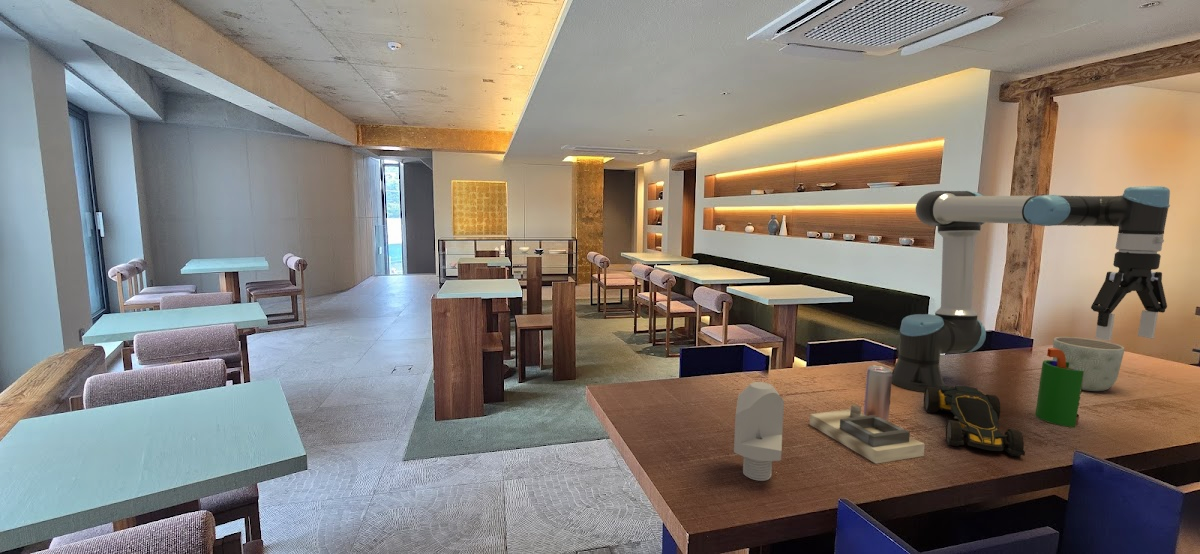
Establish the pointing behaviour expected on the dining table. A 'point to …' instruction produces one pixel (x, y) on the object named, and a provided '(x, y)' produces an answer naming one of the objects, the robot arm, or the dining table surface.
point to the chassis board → (868, 435)
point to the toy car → (973, 419)
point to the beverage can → (878, 391)
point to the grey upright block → (759, 429)
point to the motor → (1059, 391)
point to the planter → (1092, 360)
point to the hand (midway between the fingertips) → (1124, 338)
